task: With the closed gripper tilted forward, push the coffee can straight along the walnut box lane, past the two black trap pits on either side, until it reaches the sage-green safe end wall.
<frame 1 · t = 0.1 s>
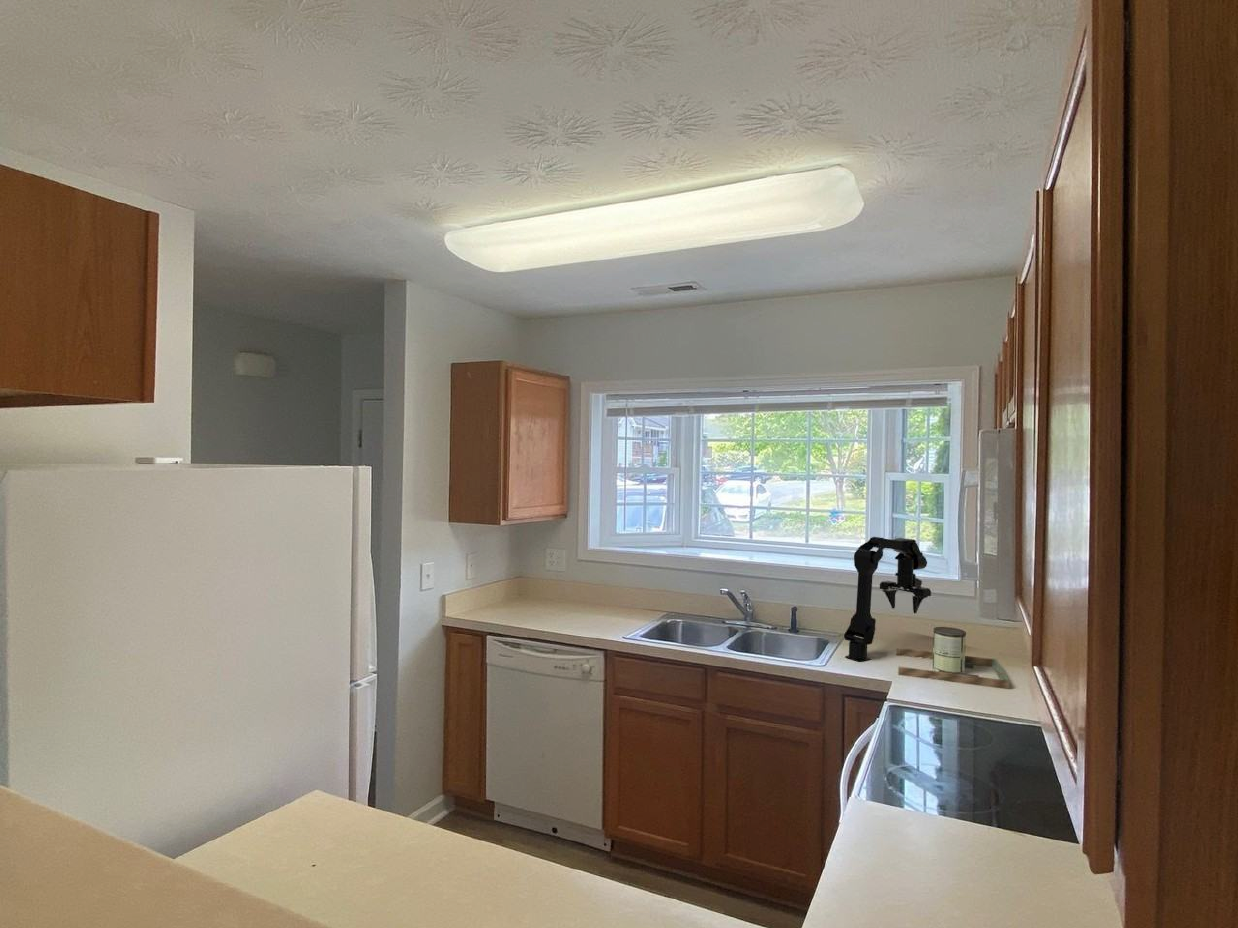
hand: (904, 610, 265), 15 cm above the counter, tool pointing down, fingers open, 9 cm apart
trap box: (900, 664, 244), on the counter
coffee can: (948, 670, 239), on the counter
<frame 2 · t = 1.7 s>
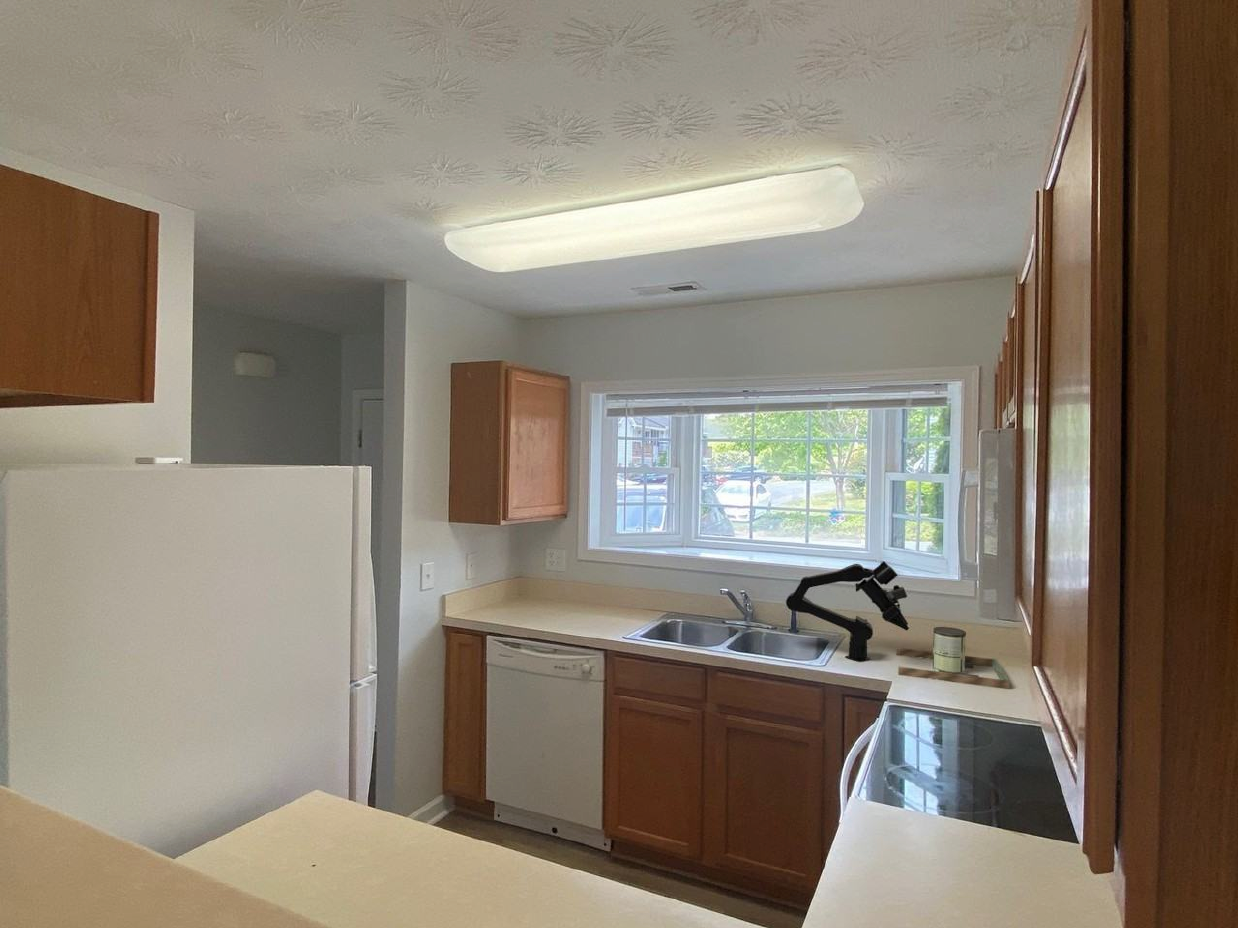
hand: (907, 627, 244), 13 cm above the counter, tool tilted 45°, fingers open, 7 cm apart
nothing on the counter moved.
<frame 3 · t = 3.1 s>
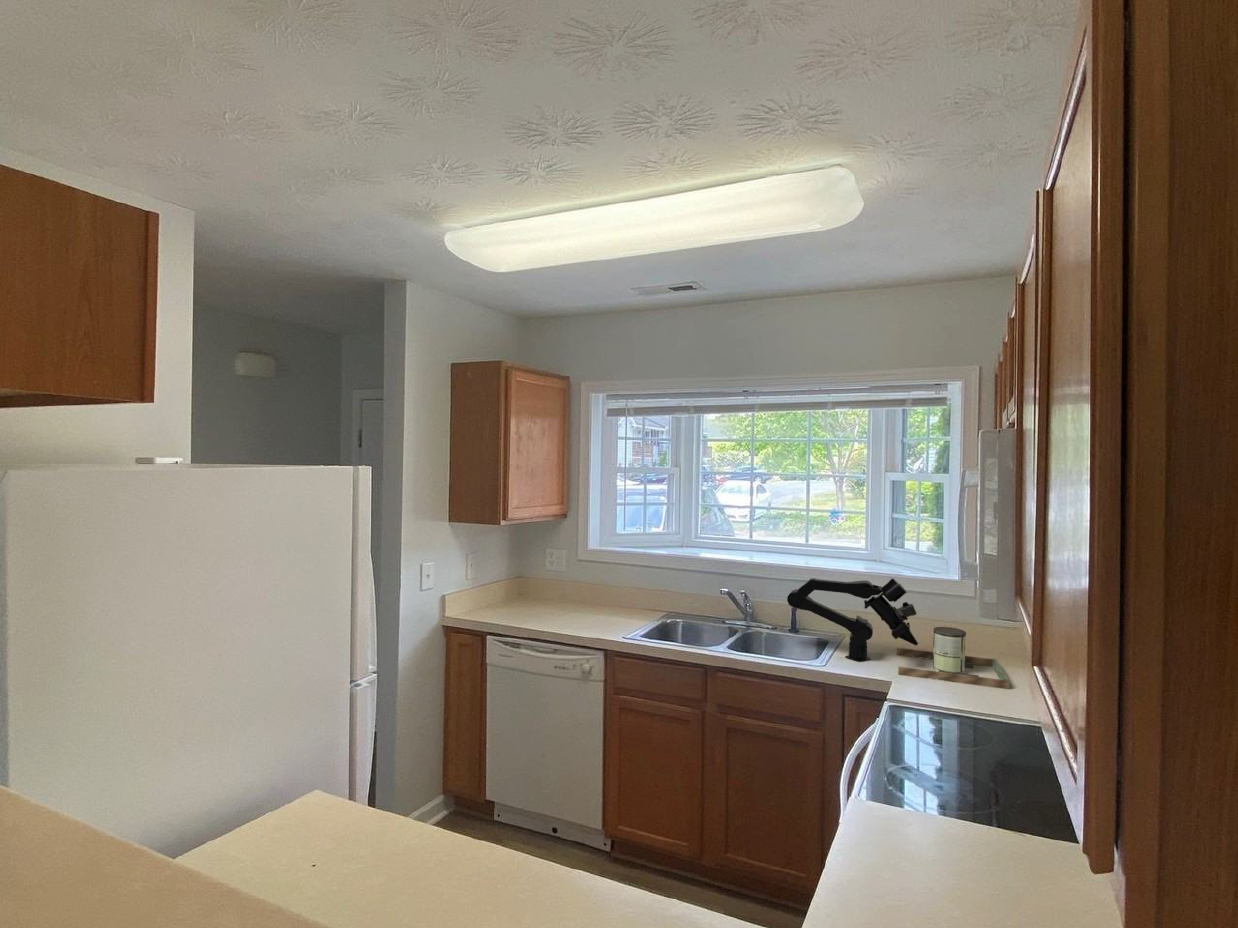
hand: (917, 644, 242), 8 cm above the counter, tool tilted 45°, fingers closed
nothing on the counter moved.
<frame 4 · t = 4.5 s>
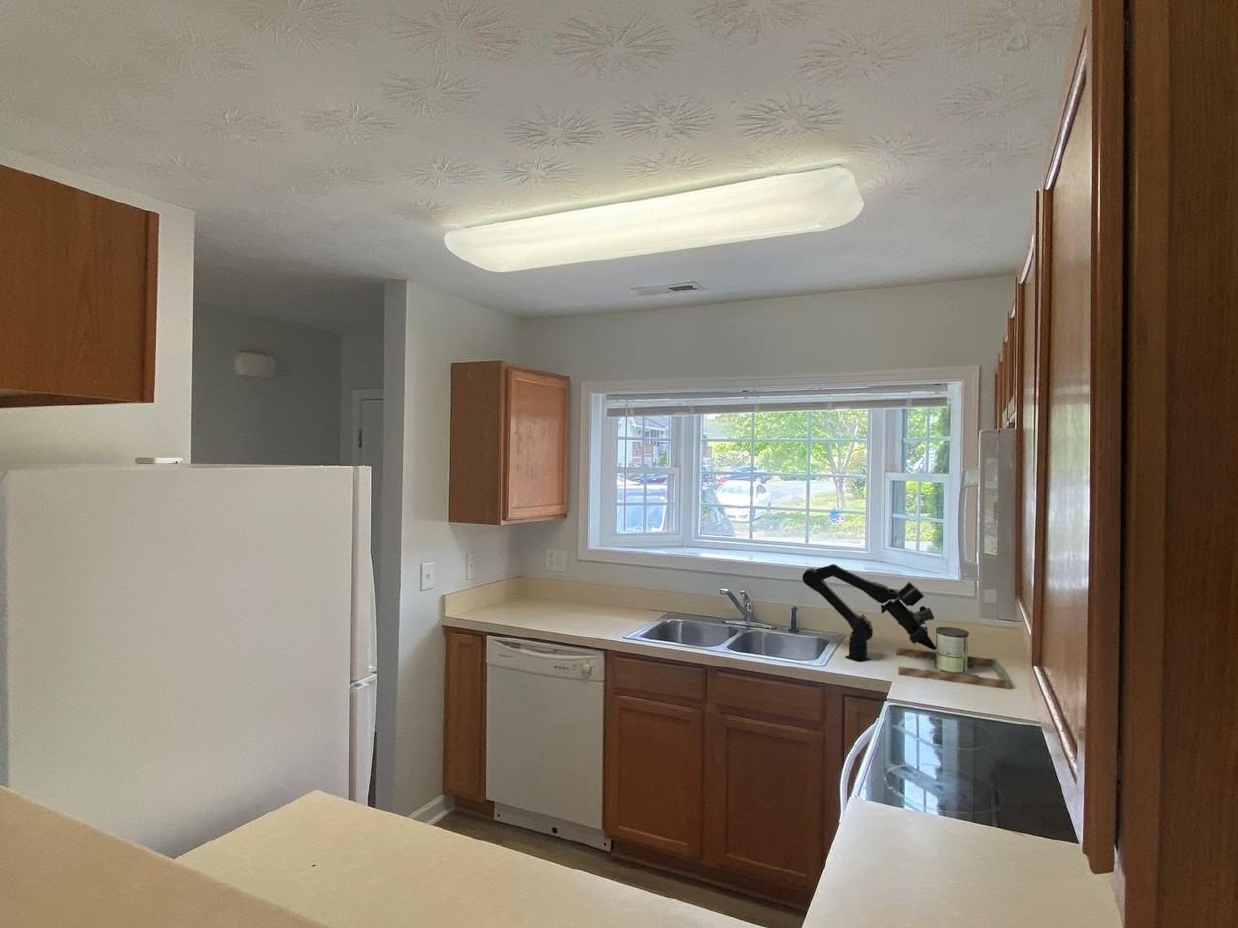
hand: (935, 648, 240), 7 cm above the counter, tool tilted 45°, fingers closed, pressing on coffee can
coffee can: (950, 671, 238), on the counter, touching gripper
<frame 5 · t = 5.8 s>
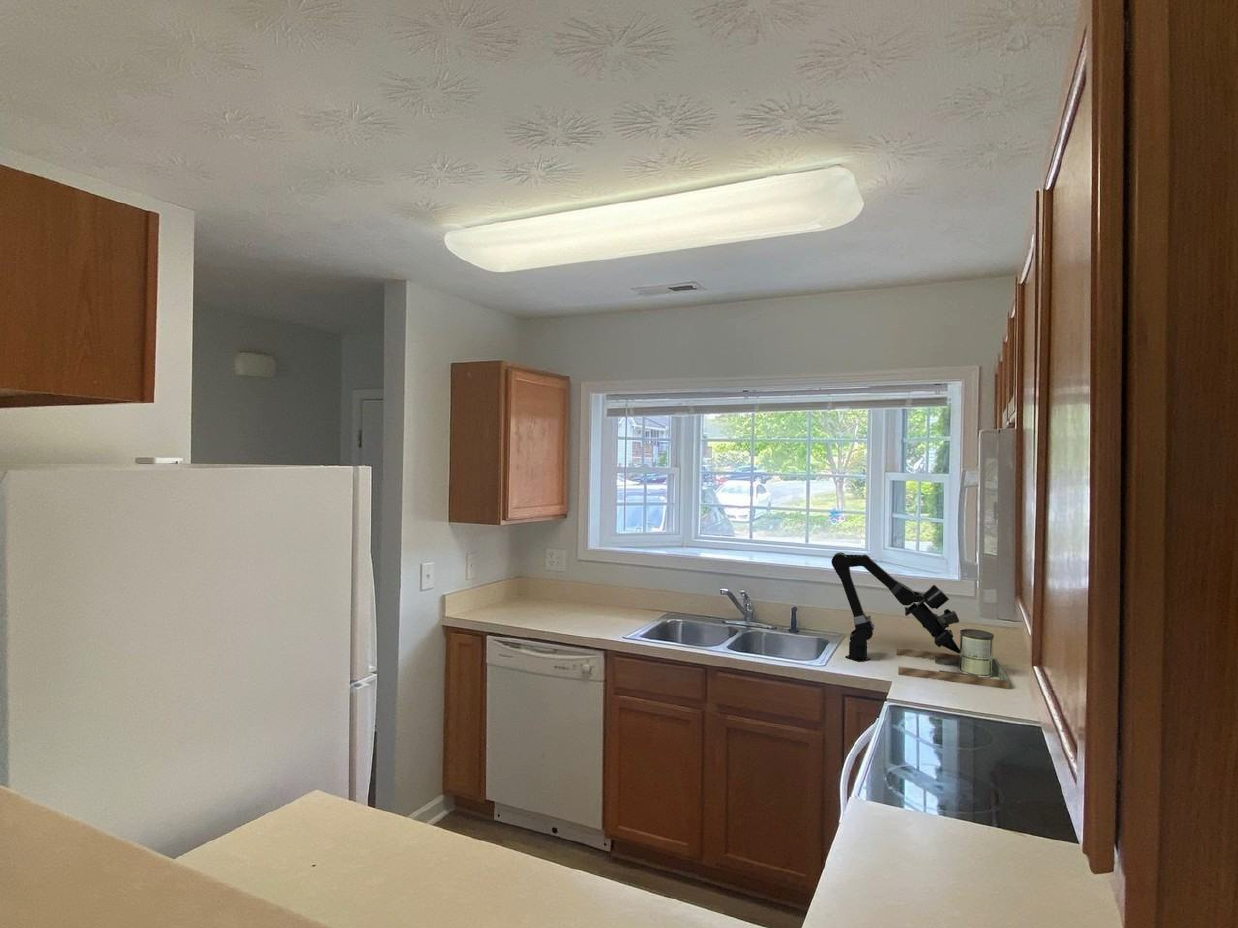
hand: (959, 652, 237), 7 cm above the counter, tool tilted 45°, fingers closed, pressing on coffee can
coffee can: (975, 673, 236), on the counter, touching gripper
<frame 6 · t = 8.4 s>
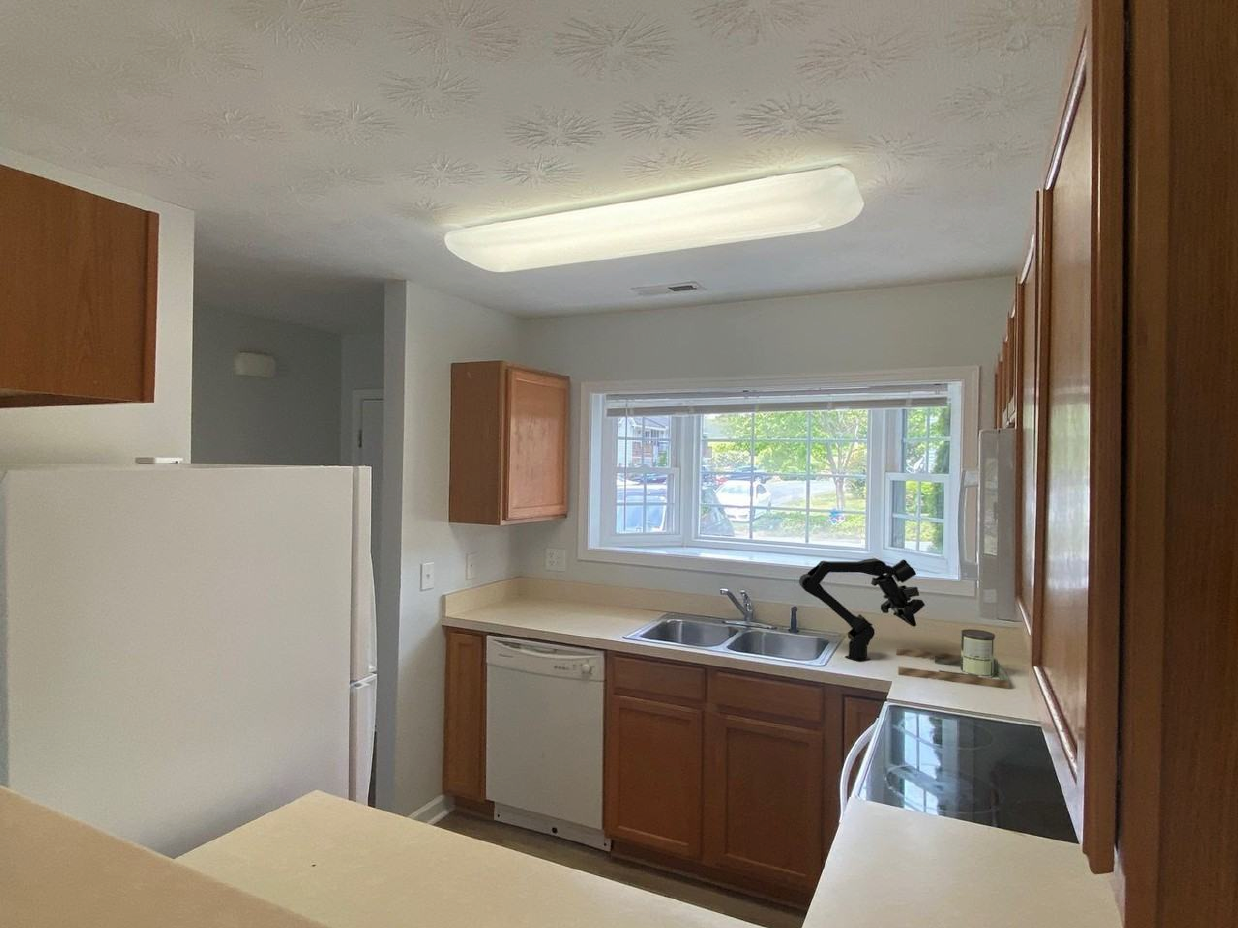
hand: (914, 625, 248), 13 cm above the counter, tool tilted 35°, fingers closed
coffee can: (976, 674, 236), on the counter
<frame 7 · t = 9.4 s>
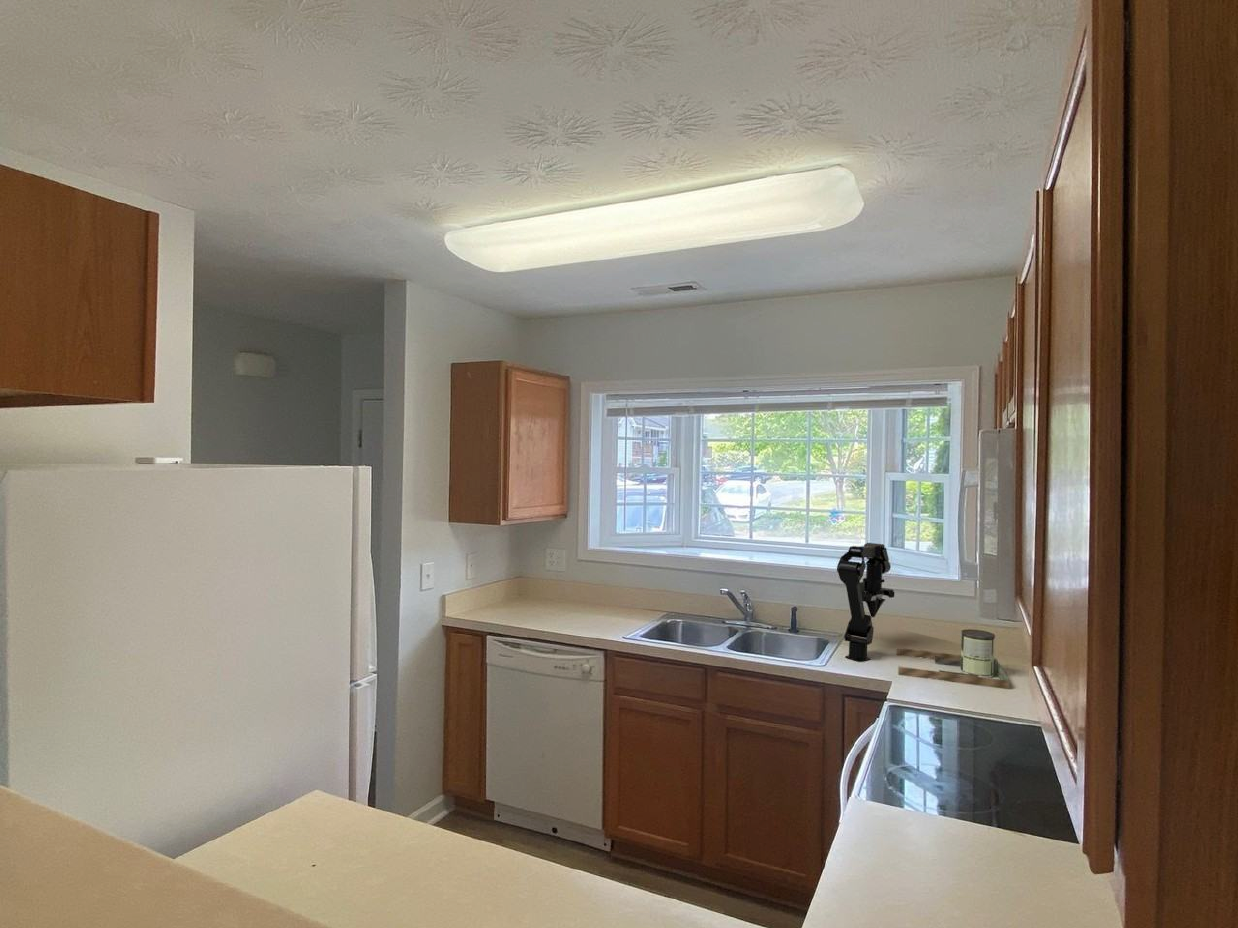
hand: (872, 616, 261), 13 cm above the counter, tool pointing down, fingers closed
nothing on the counter moved.
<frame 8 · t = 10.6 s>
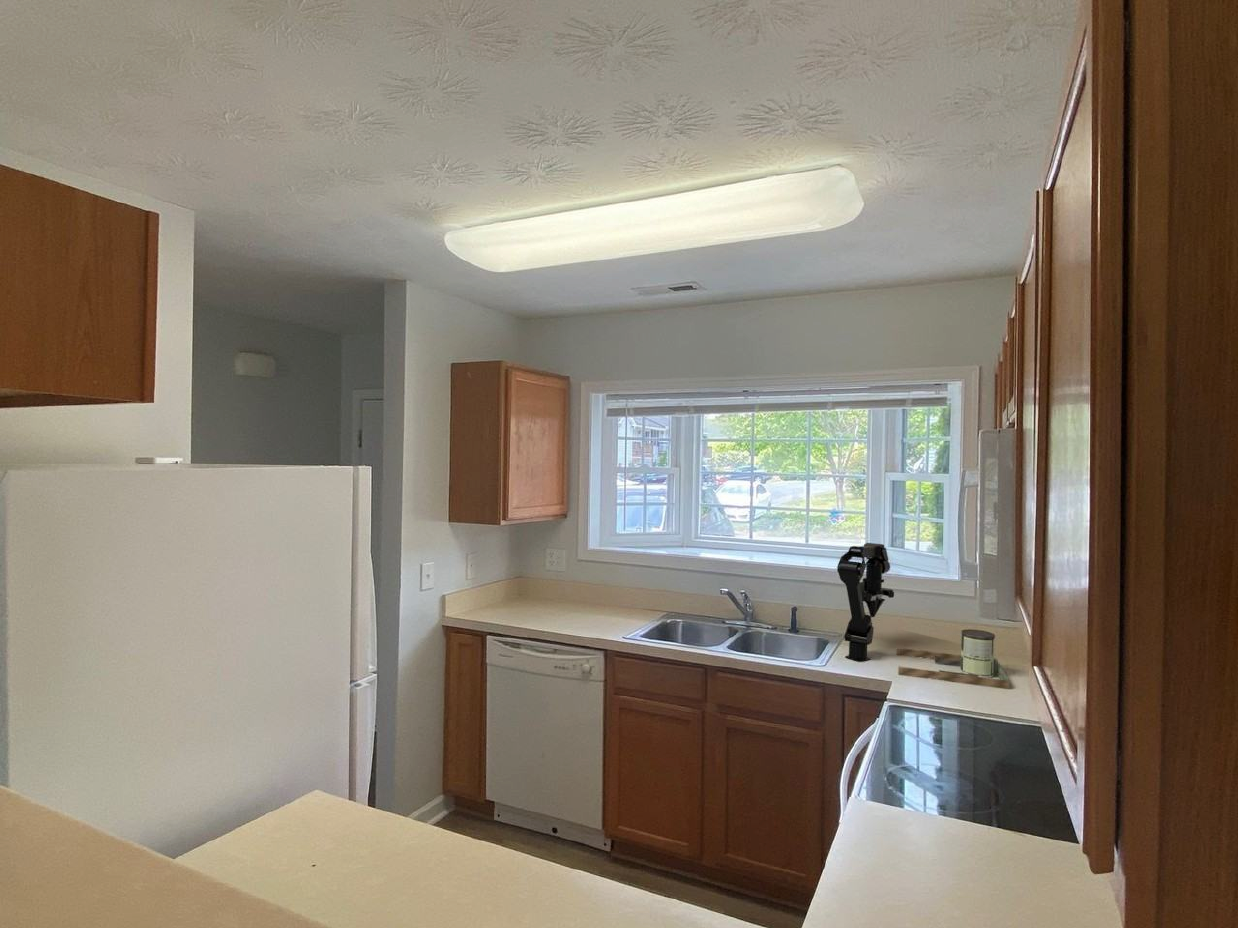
hand: (872, 616, 261), 13 cm above the counter, tool pointing down, fingers closed
nothing on the counter moved.
at the end: coffee can inside the target area (0.7 cm from its centre), on the counter; coffee can tilted 0°; coffee can moved 8.9 cm from its start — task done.
